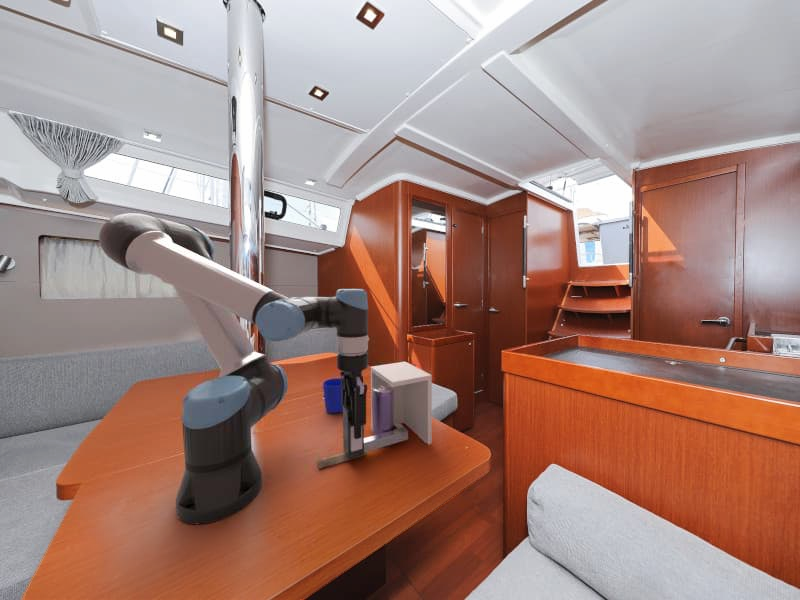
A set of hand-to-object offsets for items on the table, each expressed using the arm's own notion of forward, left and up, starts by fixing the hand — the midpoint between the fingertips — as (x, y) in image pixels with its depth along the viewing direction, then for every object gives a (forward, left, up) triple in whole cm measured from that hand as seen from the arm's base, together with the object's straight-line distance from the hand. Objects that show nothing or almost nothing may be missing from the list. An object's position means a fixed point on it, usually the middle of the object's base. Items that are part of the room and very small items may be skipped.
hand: (353, 444), depth 71 cm
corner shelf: (+15, +4, -4) cm, 16 cm away
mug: (+5, +29, -4) cm, 29 cm away
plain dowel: (-2, 0, -4) cm, 5 cm away
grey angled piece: (+7, +2, -2) cm, 7 cm away
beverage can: (+10, +4, -4) cm, 12 cm away
